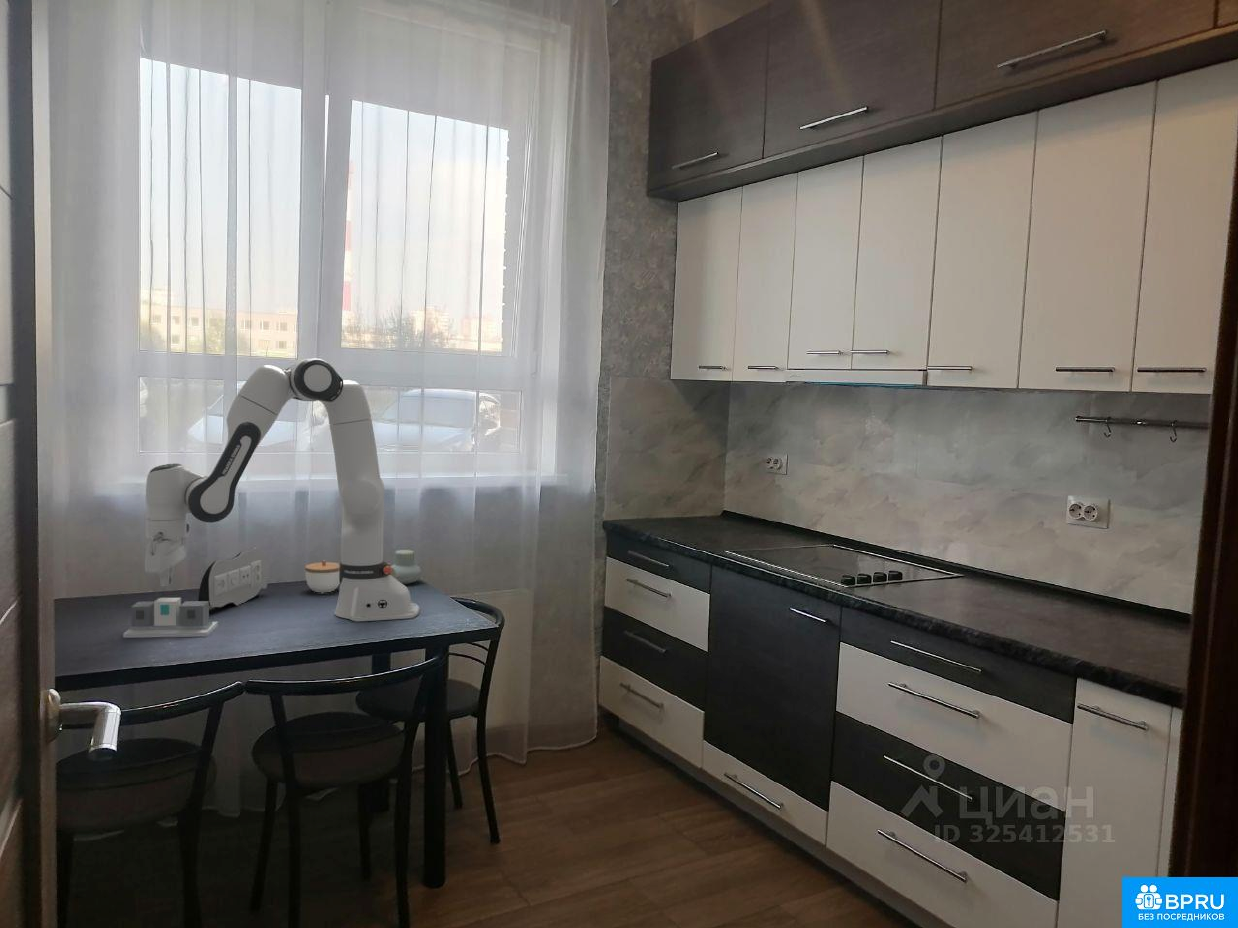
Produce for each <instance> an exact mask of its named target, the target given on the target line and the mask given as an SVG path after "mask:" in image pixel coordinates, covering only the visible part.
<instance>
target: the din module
mask: <svg viewBox="0 0 1238 928" xmlns="http://www.w3.org/2000/svg"><path fill="white" fill-rule="evenodd" d="M153 602H154V626H170V625H177V624H178V623H179V606H180V605H182V597H159V598H157V599H156V600H154V601H153Z"/></svg>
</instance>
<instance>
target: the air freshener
mask: <svg viewBox="0 0 1238 928" xmlns="http://www.w3.org/2000/svg"><path fill="white" fill-rule="evenodd" d="M390 566H391V572H390V575H391V576H392V577H394V578H395V579H396V580H398V581H399V582H400V583H402V584H403V585H409V584H414V583H416V582H417V581H419V580H420V579H421V576H422V571H421V568H420V567H419V565H417V564H415V551H414V550H410V549H399V550H396V551H395V552H394V564H393V565H390Z"/></svg>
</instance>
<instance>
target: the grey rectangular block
mask: <svg viewBox="0 0 1238 928" xmlns="http://www.w3.org/2000/svg"><path fill="white" fill-rule="evenodd" d="M213 622H214V621H212V620H209V621H208V622H207V623H206V624H205V625H204V626H180V623H178V624H177V625H170V626H154V623H153V624H152V625H150V626H149V627H131V625H130V626H129V629H130V630H187V629H209V628H210V627H211V626H212V625H213Z"/></svg>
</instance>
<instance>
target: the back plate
mask: <svg viewBox="0 0 1238 928" xmlns="http://www.w3.org/2000/svg"><path fill="white" fill-rule="evenodd" d="M218 626H219V621H213V625H212V626H211V627H210V628H209V629H187V630H130V628H129V629H128V630H126V631H125V632H123V635H122V637H123V639H124V638H125V639H127V638H128V639H131V638H140V639H141V638H187V637H188V638H189V637H190V638H191V637H192V638H193V637H194V638H195V637H201V638H202V637H204V638H205V637H208V636H209V635H210V634H211V633H212V632H213V631H214V630H215V629H216V628H217V627H218Z"/></svg>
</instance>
